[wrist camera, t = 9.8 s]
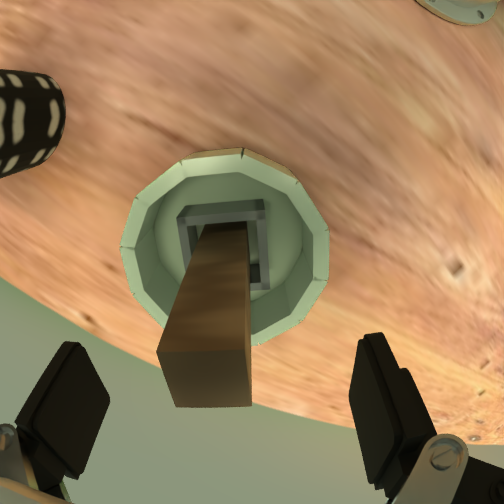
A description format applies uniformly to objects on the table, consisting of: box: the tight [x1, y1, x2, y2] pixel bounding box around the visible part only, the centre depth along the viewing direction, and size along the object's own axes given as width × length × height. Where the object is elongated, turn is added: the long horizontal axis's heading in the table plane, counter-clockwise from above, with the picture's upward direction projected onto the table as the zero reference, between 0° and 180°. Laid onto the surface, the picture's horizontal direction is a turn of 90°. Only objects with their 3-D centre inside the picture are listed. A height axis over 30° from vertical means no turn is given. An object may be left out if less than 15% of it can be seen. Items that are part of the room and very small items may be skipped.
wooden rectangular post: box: [156, 221, 252, 408], centre depth 17 cm, size 3×3×14 cm
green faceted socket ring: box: [120, 147, 329, 346], centre depth 22 cm, size 13×13×5 cm
